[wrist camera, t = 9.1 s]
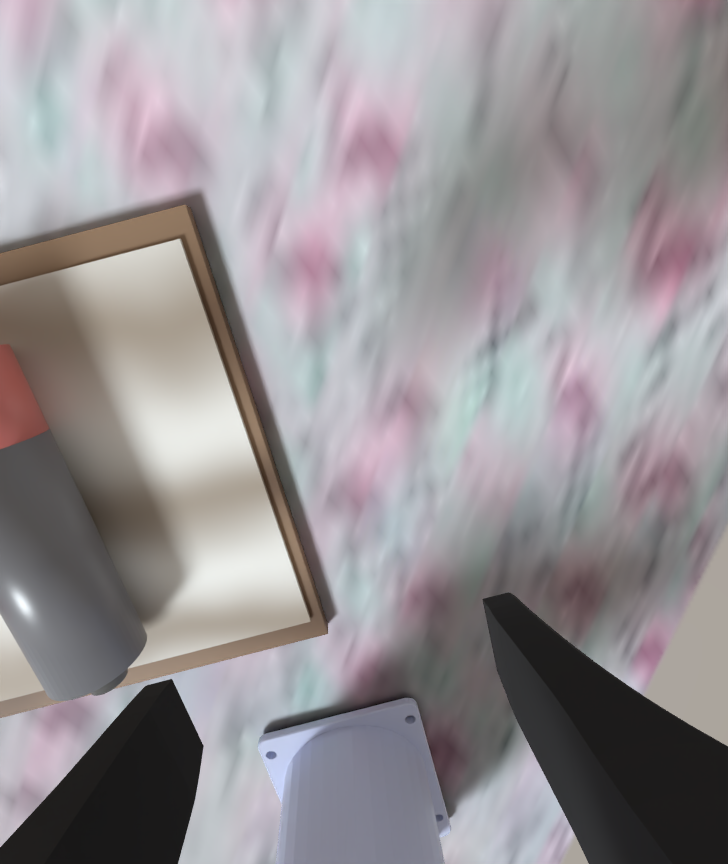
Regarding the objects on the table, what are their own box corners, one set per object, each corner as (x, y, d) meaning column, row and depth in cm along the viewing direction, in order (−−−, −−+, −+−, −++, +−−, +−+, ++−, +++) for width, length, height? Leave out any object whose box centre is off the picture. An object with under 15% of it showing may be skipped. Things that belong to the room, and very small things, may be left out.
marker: (137, 634, 20) (170, 665, 18) (48, 694, 18) (71, 740, 15) (1, 350, 17) (18, 339, 14) (-134, 379, 14) (-143, 372, 12)
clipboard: (328, 624, 21) (327, 645, 20) (-89, 731, 21) (-116, 758, 20) (190, 208, 16) (178, 199, 15) (-361, 353, 16) (-419, 357, 15)
